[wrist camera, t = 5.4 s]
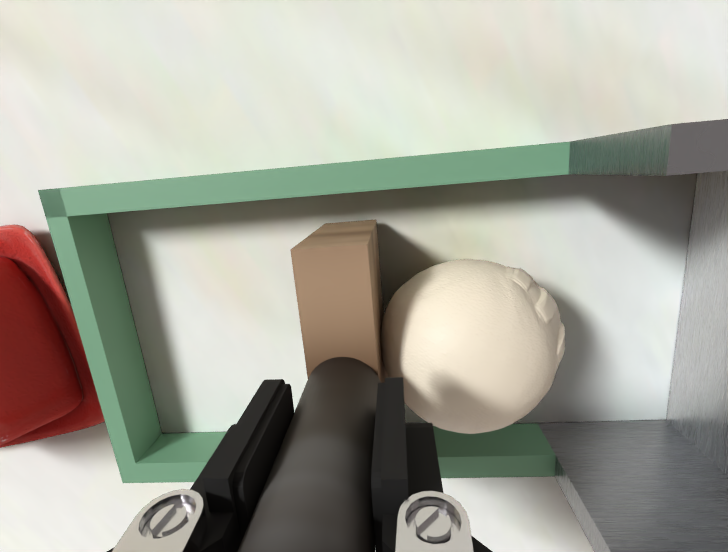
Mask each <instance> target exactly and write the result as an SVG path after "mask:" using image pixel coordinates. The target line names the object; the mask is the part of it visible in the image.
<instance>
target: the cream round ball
mask: <svg viewBox="0 0 728 552" xmlns="http://www.w3.org/2000/svg"><path fill="white" fill-rule="evenodd" d="M381 349H382V357H383V362H384V365H385V368H386V371H387V374H388V376H389V377H403V385H404V403H405V404H406V405H407V406H408V407H409V408H410V409H411V410H412V411H414V412H415V413H416V414H417V415H418V416H419V417H421V418H422V419H423V420H425V421H426V422H428V423H432V424H433V425H434V426H436V427H438V428H441V429H444V430H448V431H453V432H457V433H466V434H476V433H483V432H489V431H494V430H498V429H501V428H504V427H506V426H509V425H511V424H513V423H514V422H516V421H518V420H520V419H521V418H523V417H524V416H526V415H527V414H528V413H529V412H530V411H532V410H533V409H534V408H535V407H536V406H537V405H538V403H539V402H540V401H541V400H542V398H543V397H544V396H545V395H546V393H547V392H548V391H549V389H550V388H551V386H552V384H553V381H554V378H555V374H556V371H557V369H558V366H559V363H560V361H561V360H562V357H563V355H564V351H565V328H564V325H563V324H562V322H561V320H560V313H559V309H558V306H557V304H556V302H555V300H554V298H553V297H552V296H551V295H550V294H549V293H548V292H547V291H546V290H545V289H544V288H540V287H539V286H538V284H537V283H536V282H535V281H534V280H533V278H532V277H531V276H530V275H529V274H528V273H526V272H525V271H524V270H522V269H516V268H511V267H505V266H503V265H501V264H498V263H495V262H490V261H484V260H474V259H460V260H453V261H449V262H445V263H441V264H437V265H434V266H432V267H430V268H428V269H426V270H423V271H421V272H419V273H418V274H416V275H415V276H413V277H412V278H411V279H410V280H409V281H407V282H406V283H404V284H403V285H402V286H401V287H400V288H399V289H398V290H397V291H396V292H395V293H394V295H393V296H392V298H391V300H390V302H389V304H388V307H387V308H386V311H385V313H384V317H383V321H382V327H381Z"/></svg>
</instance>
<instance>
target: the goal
mask: <svg viewBox="0 0 728 552" xmlns="http://www.w3.org/2000/svg"><path fill="white" fill-rule="evenodd" d="M693 173H698V174H697V182H696V190H695V198H694V205H693V213H692V221H691V229H690V237H689V245H688V253H687V261H686V268H685V276H684V284H683V292H682V300H681V308H680V316H679V324H678V331H677V339H676V347H675V355H674V363H673V371H672V379H671V387H670V394H669V402H668V410H667V418H666V420H637V421H601V422H564V423H538V425H539V427H540V429H541V430H542V432H543V434H544V436H545V437H546V439H547V441H548V443H549V444H550V446H551V448H552V450H553V451H554V453H555V455H556V457H555V478H556V480H557V482H558V484H559V486H560V487H561V489H562V491H563V493H564V495H565V497H566V499H567V501H568V503H569V504H570V506H571V508H572V510H573V512H574V514H575V516H576V518H577V520H578V521H579V523H580V525H581V527H582V529H583V531H584V533H585V535H586V537H587V538H588V540H589V542H590V544H591V546H592V548H593V550H594V552H728V119H723V120H713V121H702V122H691V123H680V124H671V125H665V126H659V127H653V128H647V129H641V130H636V131H630V132H624V133H618V134H612V135H606V136H600V137H595V138H589V139H583V140H577V141H571V142H570V154H569V174H582V175H654V176H668V175H681V174H693Z"/></svg>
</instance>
